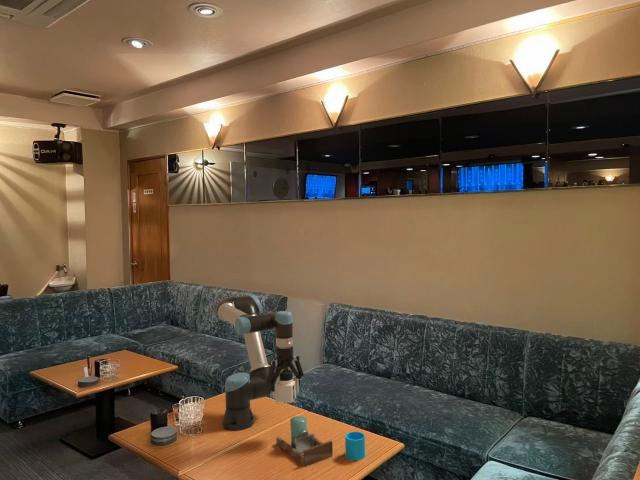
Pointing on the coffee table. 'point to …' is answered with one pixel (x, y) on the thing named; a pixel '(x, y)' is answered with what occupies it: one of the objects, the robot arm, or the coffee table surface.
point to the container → (286, 387)
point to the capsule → (297, 427)
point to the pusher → (304, 441)
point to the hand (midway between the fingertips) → (285, 395)
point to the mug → (355, 445)
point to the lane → (308, 451)
